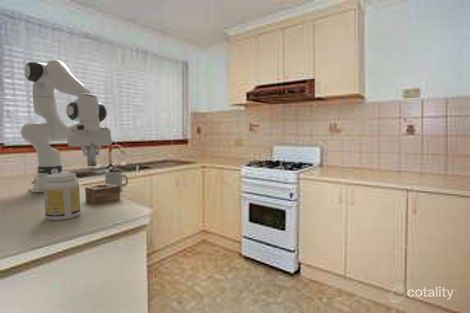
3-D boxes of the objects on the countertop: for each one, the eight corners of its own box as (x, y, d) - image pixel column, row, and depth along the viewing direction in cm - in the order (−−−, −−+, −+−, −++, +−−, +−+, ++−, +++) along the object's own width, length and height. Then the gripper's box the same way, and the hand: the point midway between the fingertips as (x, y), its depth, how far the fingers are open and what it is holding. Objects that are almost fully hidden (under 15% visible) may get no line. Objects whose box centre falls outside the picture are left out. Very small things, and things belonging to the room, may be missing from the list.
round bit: (86, 166, 141) (84, 143, 140) (94, 165, 144) (92, 143, 143) (90, 166, 139) (88, 143, 138) (98, 165, 142) (97, 143, 141)
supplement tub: (73, 210, 124) (71, 171, 122) (86, 215, 116) (84, 174, 115) (40, 217, 114) (37, 175, 113) (51, 223, 107) (49, 178, 105)
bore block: (85, 201, 141) (85, 187, 140) (109, 196, 150) (108, 183, 150) (96, 204, 135) (95, 189, 134) (120, 199, 144) (119, 185, 144)
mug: (108, 194, 156) (107, 174, 156) (104, 191, 163) (103, 172, 162) (130, 191, 164) (129, 172, 163) (125, 189, 171) (125, 170, 170)
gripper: (107, 127, 150) (108, 154, 151) (64, 127, 134) (66, 156, 135) (113, 127, 146) (114, 154, 147) (71, 126, 130) (72, 157, 131)
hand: (91, 155), depth 141 cm, fingers closed on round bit, 4 cm apart
